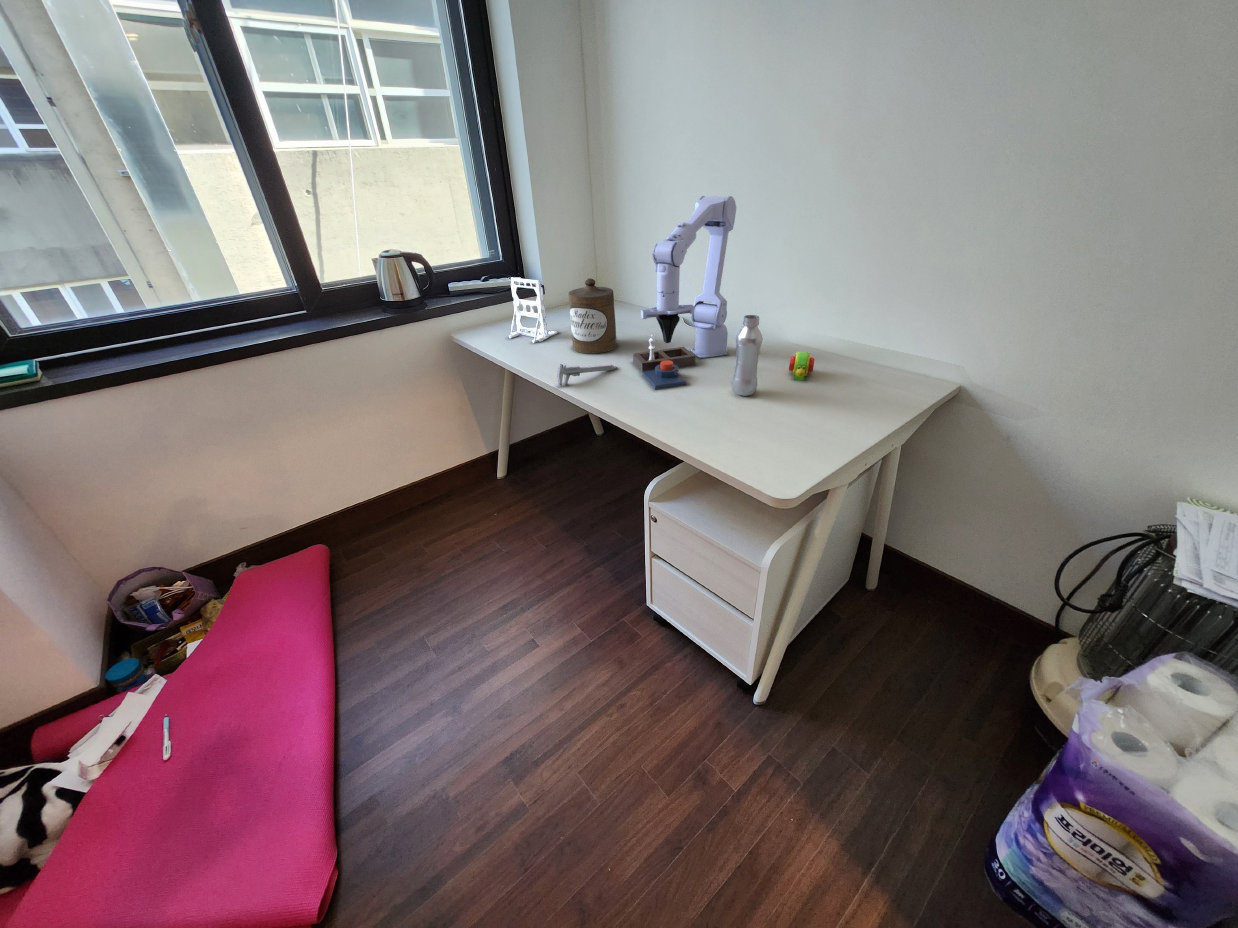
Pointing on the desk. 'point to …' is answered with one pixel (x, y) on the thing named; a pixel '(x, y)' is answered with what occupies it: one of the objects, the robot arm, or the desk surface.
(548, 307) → the desk surface
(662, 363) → the station button
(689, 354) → the holder
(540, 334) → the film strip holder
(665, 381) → the station
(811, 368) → the green wheeled toy
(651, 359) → the chess piece
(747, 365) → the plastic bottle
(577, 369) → the caliper
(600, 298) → the wooden container
